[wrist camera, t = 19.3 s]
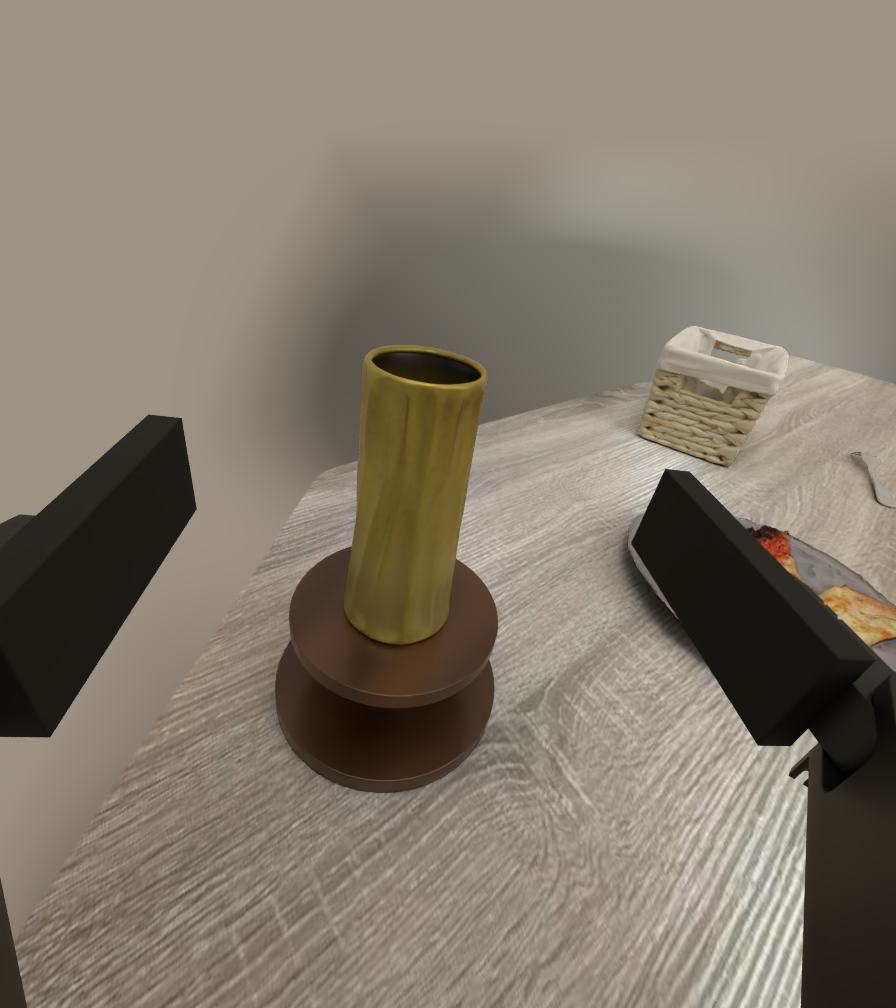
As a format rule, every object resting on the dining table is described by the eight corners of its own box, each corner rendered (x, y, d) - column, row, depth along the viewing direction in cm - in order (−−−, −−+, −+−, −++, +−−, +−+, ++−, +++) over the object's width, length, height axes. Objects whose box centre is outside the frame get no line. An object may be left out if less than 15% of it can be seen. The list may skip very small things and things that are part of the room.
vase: (364, 560, 30) (379, 333, 23) (457, 583, 30) (505, 359, 22) (326, 630, 25) (329, 368, 18) (437, 659, 25) (490, 403, 17)
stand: (234, 768, 26) (219, 686, 22) (318, 590, 37) (318, 516, 34) (488, 814, 26) (518, 740, 22) (493, 622, 37) (513, 552, 34)
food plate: (769, 525, 57) (785, 501, 55) (980, 696, 39) (1014, 669, 37) (583, 524, 51) (593, 497, 49) (726, 727, 33) (752, 696, 31)
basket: (734, 475, 68) (789, 375, 60) (624, 436, 75) (661, 341, 66) (747, 430, 86) (791, 348, 78) (657, 401, 92) (689, 323, 84)
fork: (865, 515, 69) (877, 500, 67) (847, 452, 84) (857, 439, 82) (887, 522, 68) (901, 508, 66) (865, 458, 83) (876, 444, 81)
